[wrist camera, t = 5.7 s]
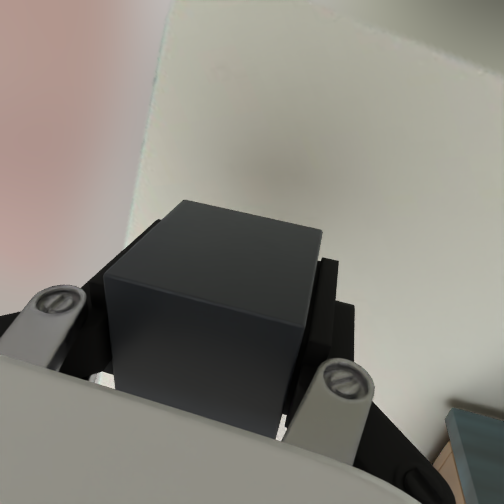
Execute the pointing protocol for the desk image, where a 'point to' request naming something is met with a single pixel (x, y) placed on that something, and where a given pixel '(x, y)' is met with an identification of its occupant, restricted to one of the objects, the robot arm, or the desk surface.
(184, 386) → the block
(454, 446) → the drawer
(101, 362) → the robot arm
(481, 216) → the desk surface
